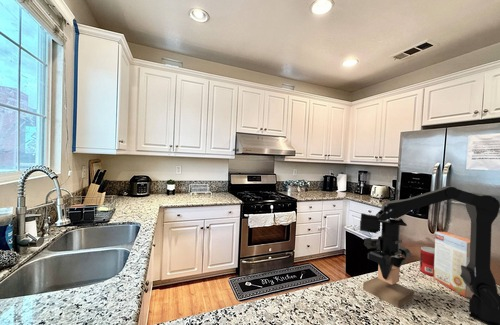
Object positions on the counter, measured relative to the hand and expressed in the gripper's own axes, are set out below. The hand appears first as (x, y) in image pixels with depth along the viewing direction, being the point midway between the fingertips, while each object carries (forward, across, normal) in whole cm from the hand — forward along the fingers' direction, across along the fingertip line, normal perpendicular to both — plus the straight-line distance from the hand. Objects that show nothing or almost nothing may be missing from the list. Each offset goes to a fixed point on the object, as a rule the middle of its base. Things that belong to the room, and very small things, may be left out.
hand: (388, 277), depth 79 cm
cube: (+1, 0, 0) cm, 1 cm away
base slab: (+7, 0, 0) cm, 7 cm away
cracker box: (+6, -31, +10) cm, 33 cm away
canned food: (+6, -37, 0) cm, 37 cm away
